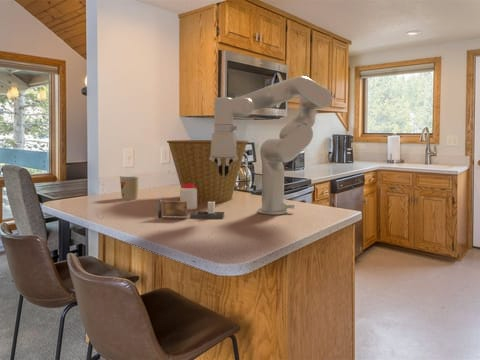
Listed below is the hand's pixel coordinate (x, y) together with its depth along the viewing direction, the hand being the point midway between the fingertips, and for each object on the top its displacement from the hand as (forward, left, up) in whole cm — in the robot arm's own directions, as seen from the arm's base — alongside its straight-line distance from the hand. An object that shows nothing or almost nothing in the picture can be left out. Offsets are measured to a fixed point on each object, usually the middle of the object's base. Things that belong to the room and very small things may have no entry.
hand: (223, 175), depth 154 cm
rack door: (+19, +5, -16) cm, 25 cm away
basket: (+13, -45, -17) cm, 50 cm away
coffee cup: (+53, -39, -17) cm, 68 cm away
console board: (+7, 0, -17) cm, 18 cm away
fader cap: (+5, 0, -15) cm, 16 cm away
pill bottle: (+18, -18, -17) cm, 31 cm away
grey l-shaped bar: (+20, +5, -17) cm, 27 cm away
